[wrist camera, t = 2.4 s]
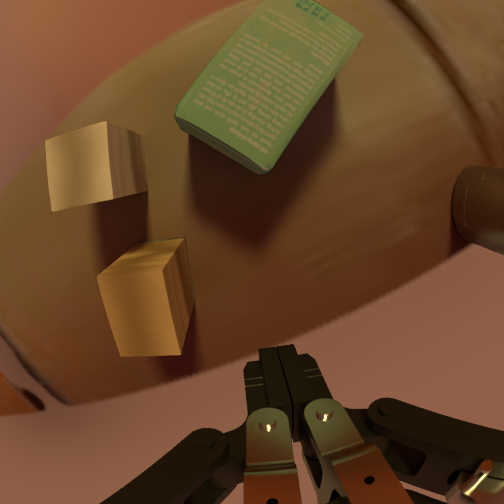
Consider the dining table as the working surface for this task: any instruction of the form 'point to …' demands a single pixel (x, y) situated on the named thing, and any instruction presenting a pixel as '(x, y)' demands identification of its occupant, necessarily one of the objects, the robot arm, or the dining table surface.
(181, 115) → the box
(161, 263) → the oak pillar
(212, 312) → the dining table surface
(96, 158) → the birch pillar
